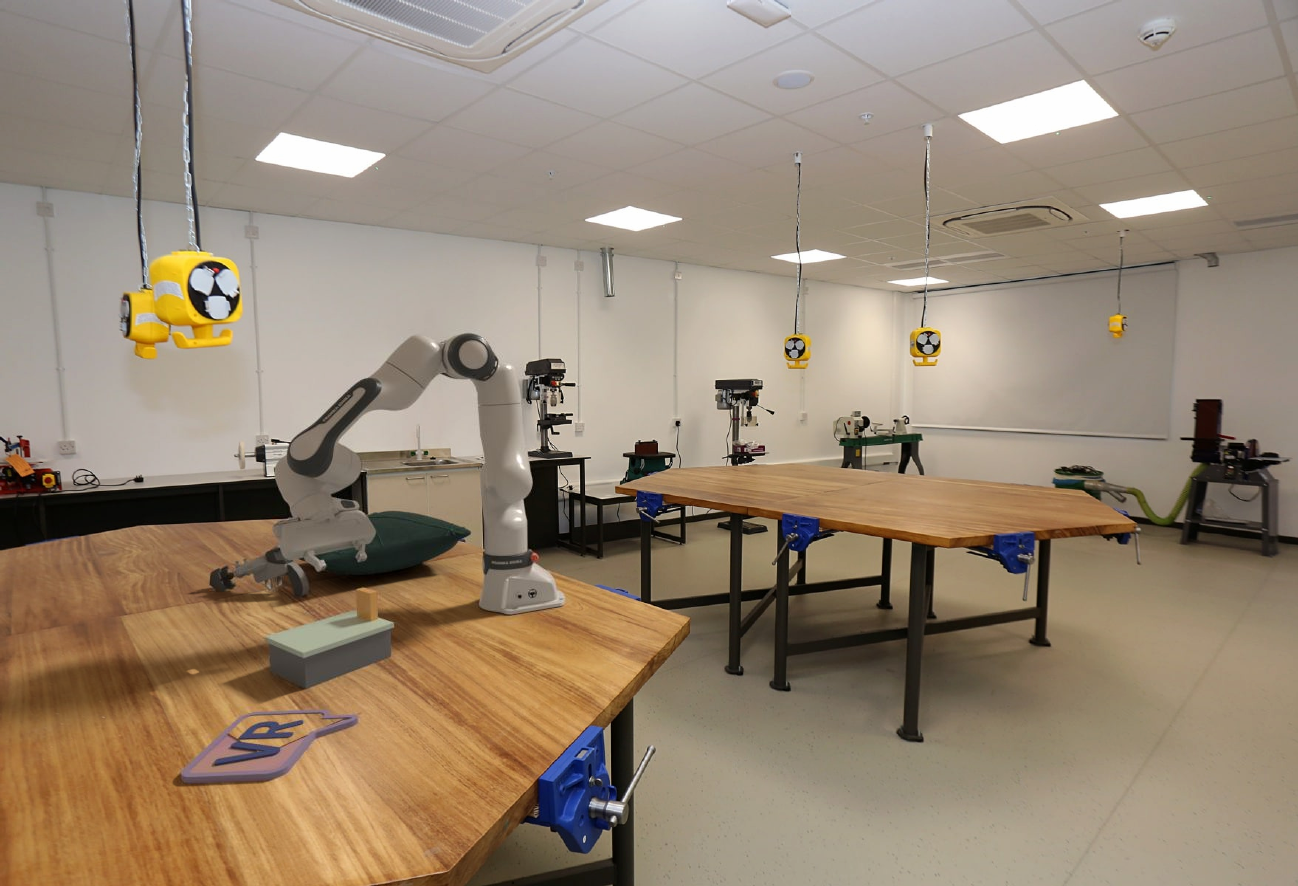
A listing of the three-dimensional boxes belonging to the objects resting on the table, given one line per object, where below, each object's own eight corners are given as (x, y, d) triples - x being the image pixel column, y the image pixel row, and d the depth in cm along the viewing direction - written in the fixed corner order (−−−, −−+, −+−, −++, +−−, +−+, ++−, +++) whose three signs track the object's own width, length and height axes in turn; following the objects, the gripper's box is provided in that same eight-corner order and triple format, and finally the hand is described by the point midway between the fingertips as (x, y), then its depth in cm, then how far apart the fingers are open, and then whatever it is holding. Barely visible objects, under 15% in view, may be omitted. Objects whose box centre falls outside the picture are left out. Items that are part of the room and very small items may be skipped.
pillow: (316, 523, 173) (279, 524, 206) (323, 592, 173) (285, 581, 206) (469, 500, 202) (415, 504, 235) (476, 559, 202) (421, 555, 235)
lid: (355, 620, 143) (353, 583, 143) (394, 634, 136) (393, 594, 135) (265, 649, 128) (263, 606, 127) (303, 666, 120) (302, 621, 119)
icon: (318, 771, 95) (173, 777, 93) (319, 781, 95) (174, 787, 93) (364, 708, 114) (244, 712, 112) (364, 716, 114) (245, 720, 112)
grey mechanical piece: (302, 596, 174) (280, 541, 174) (222, 628, 181) (201, 575, 181) (317, 590, 180) (295, 536, 180) (238, 621, 186) (218, 569, 186)
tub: (355, 646, 143) (354, 615, 143) (391, 660, 136) (390, 627, 135) (270, 676, 128) (268, 641, 128) (306, 693, 121) (304, 656, 120)
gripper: (274, 513, 136) (300, 566, 132) (363, 500, 153) (390, 546, 149) (264, 531, 139) (290, 584, 135) (353, 516, 156) (378, 563, 152)
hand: (343, 564), depth 142 cm, fingers open, 8 cm apart
